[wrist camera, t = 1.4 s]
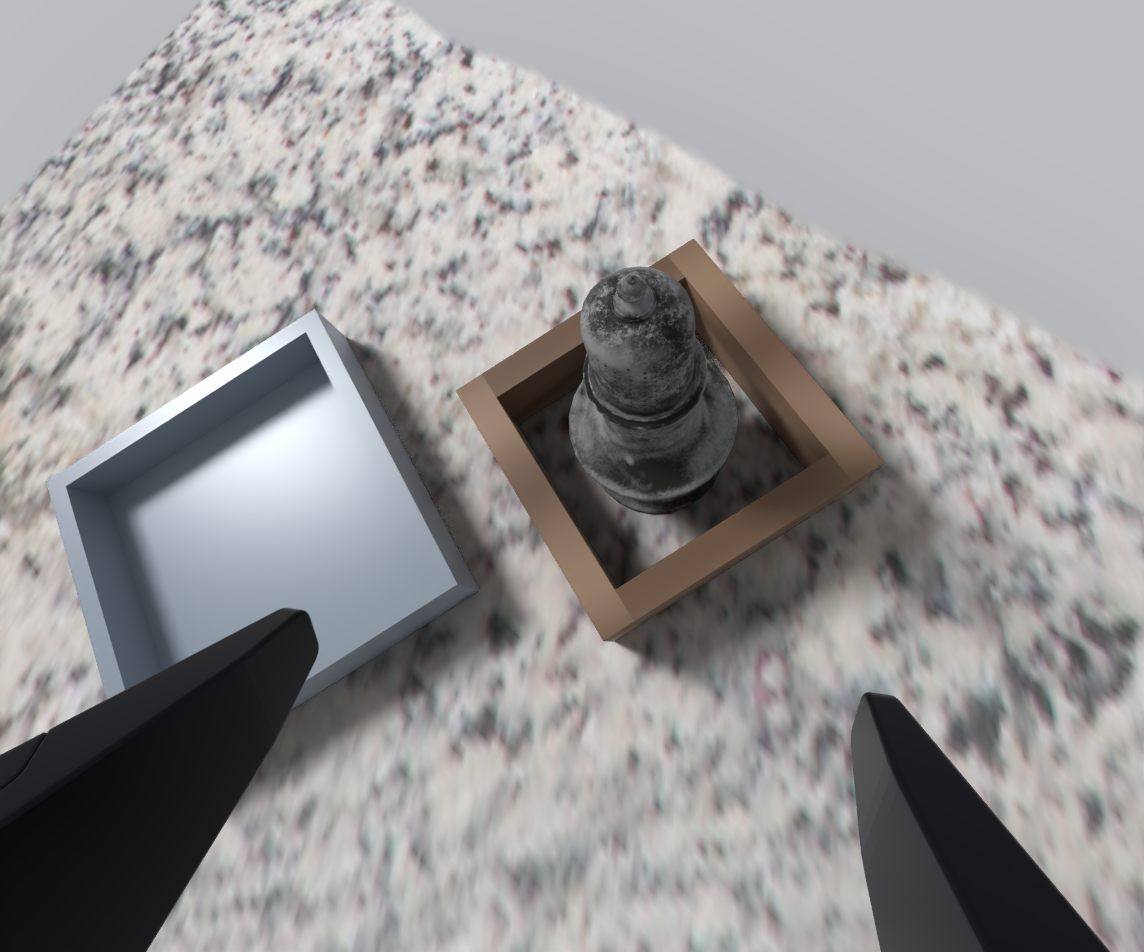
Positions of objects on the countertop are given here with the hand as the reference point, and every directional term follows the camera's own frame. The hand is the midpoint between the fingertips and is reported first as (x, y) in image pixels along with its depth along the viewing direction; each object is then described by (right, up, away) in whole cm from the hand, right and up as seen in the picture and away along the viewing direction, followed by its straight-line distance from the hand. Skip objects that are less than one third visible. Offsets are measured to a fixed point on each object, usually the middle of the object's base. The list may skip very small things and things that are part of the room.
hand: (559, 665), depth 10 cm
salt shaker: (+4, +4, +15) cm, 16 cm away
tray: (-13, 0, +17) cm, 21 cm away
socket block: (+4, +4, +15) cm, 16 cm away
